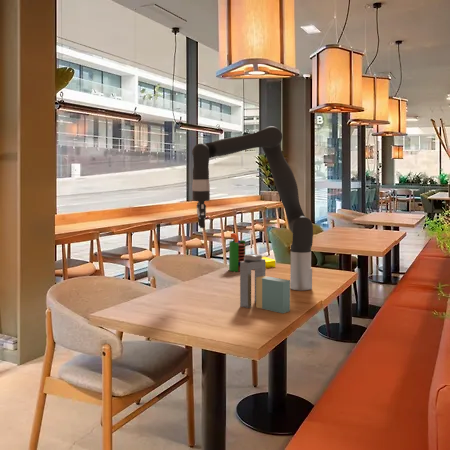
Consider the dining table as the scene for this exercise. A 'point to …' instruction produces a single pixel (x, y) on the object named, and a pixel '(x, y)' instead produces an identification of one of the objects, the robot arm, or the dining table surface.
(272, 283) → the sage green rectangular prism
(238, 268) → the motor
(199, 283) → the dining table surface
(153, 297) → the dining table surface
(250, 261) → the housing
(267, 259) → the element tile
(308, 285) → the robot arm
